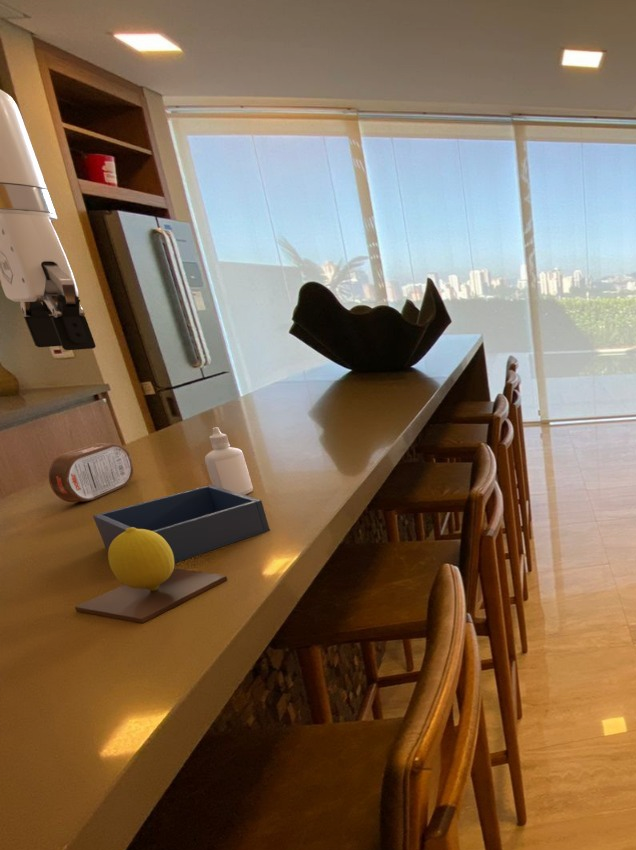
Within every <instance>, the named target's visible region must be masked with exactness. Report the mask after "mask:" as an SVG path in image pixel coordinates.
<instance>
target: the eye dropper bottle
mask: <svg viewBox="0 0 636 850" xmlns="http://www.w3.org/2000/svg"><path fill="white" fill-rule="evenodd" d="M208 438H209V442H210V444H211V448H212V450H210V451H209V452H208V453H207V454H206V455H205V456H204V463H205V467H206V470H207V473H208V476H209V479H210V482H211V485H213V486H216V487H219V488H223V489H226V490H229V491H232V492H236V493H239V494H242V495H246V496H247V495H248V494H250V493H252V492H253V491H254V486H253V483H252V480H251V479H252V478H251V476H250V473H249V470H248V469H249V468H248V466H247V463H246V459H245V456H244V453H243V451H242V450H241V449H240V448H237V447H232V446H231V445H230V441H229V438H228V435H227V434H226V433H223V432H221V430H220V428H219V427H218V426H215V427H212V435H210V436H209V437H208Z"/></svg>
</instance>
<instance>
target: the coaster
mask: <svg viewBox="0 0 636 850" xmlns="http://www.w3.org/2000/svg"><path fill="white" fill-rule="evenodd" d="M227 580H228V577H227V575H224V574H217V573H212V572H211V573H210V572H204V571H196V570H190V569H183V568H176V567H174V569H173V572H172V574H171V575H170V577H169V578H168V579H167V580H166V581H165V582H163V583H161V584H160V585H159V587H158V588H157V589H156V590H154V591H150V590H147V589H138V588H132V587H129V586H127V585H125V584H122V585H121V586H118V587H116V588H114V589H112V590H110V591H107V592H105V593H102V594H100V595H98V596H96V597H94V598H91V599H89V600H87V601H84V602H82V603H79V604H78V605H76V606H74V609H75V611H76V612H80V613H84V614H90V615H96V616H100V617H106V618H111V619H112V618H113V619H118V620H123V621H129V622H135V623H139V624H144V623H146V622H148V621H150V620H152V619H153V618H156V617H158V616H160V615H161V614H164V613H165V612H166V613H167V611H170V610H171V609H174V608H175V607H177V606H179V605H182V604H184V603H185V602H187V601H189V600H191V599H192V598H195V597H197V596H198V595H201V594H203V593H205V592H206V591H208V590H210V589H212V588H214V587H216V586H218V585H220V584H222V583H224V582H226V581H227Z"/></svg>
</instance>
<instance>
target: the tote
mask: <svg viewBox="0 0 636 850" xmlns="http://www.w3.org/2000/svg"><path fill="white" fill-rule="evenodd" d="M92 517H93V520H94V521H95V525H96V528H97V530H98V532H99V535H100V538H101V540H102V541H103V545H104V547H105V548H107V549H108V550H109V547H110V544H111V543H112V541H113V540H114V539H115V538H116V537H117V536H118V535H120V534H121V533H123V532H125V531H126V529H127V528H130V527H134V528H136V529H146V530H150V531H153V532H155V533H157V534H159V535H160V536H162V537H163V538H164V539H165V540H166V542H167V543H168V545H169V546H170V548H171V550H172V552H173V556H174V564H176V563H179V562H183V561H185V560H188V559H191V558H194V557H196V556H197V557H198V556H199V555H202V554H205V553H208V552H211V551H214V550H217V549H220V548H222V547H225V546H228V545H232V544H234V543H236V542H237V543H238V542H240V541H244V540H245V539H249V538H251V537H255V536H258V535H260V534H263V533H266V532H269V531H271V530H270V526H269V522H268V519H267V516H266V512H265V508H264V504H263V501H262V499H258V498H255V497H253V496H249V495H247V494H246V495H242V494H239V493H236V492H232V491H229V490H226V489H223V488H219V487H216V486H213V485H212V484H208V485H204V486H201V487H197V488H193V489H190V490H185V491H181V492H178V493H174V494H170V495H167V496H162V497H158V498H155V499H151V500H147V501H143V502H140V503H135V504H132V505H129V506H128V505H127V506H123V507H121V508H116V509H112V510H108V511H105V512H101V513H98V514H94V515H93V514H92Z"/></svg>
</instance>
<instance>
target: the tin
mask: <svg viewBox="0 0 636 850" xmlns="http://www.w3.org/2000/svg"><path fill="white" fill-rule="evenodd" d="M48 470H49V471H48V481H49V482H48V483H49V485H50V488H51V491H53V494H55V495H56V497H57V498H59V499H60V500H62V501H64V502H68V503H76V502H81V503H82V502H83V503H85V502H92V501H94V500H96V499H99V498H102V497H103V496H105V495H108V494H110V493H112V492H115V491H117V490H119V489H122V488H124V487H126V486H127V485H128V484H130V481H131V480H132V477H133V474H134V466H133V461H132V457H131V455H130V453H129V451H128V450H127V449H126V448H125V447H124V446H123V445H120V444H117V443H104V442H96V443H93V444H89V445H87V446H84V447H80V448H77V449H74V450H71V451H67V452H64V453H61V454H59V455H58V456H57V457H55V458H54V460H53V461H52V462H51V464H50V467H49V469H48Z"/></svg>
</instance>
